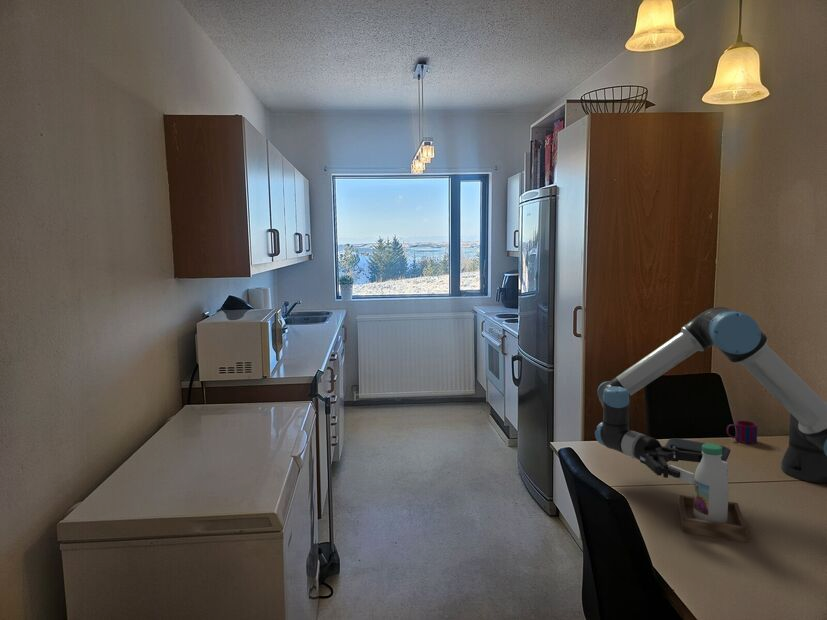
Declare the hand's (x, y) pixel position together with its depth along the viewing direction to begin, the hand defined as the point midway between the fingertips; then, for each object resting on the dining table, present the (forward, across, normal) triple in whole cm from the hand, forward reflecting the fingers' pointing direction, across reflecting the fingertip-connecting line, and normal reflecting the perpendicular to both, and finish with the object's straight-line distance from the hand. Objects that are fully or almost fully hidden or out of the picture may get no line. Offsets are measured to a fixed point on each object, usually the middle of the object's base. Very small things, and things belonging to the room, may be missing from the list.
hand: (710, 473), depth 134 cm
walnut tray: (0, 0, -14) cm, 14 cm away
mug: (-31, -64, -14) cm, 73 cm away
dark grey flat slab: (-34, -43, -14) cm, 56 cm away
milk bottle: (0, 0, -13) cm, 13 cm away
